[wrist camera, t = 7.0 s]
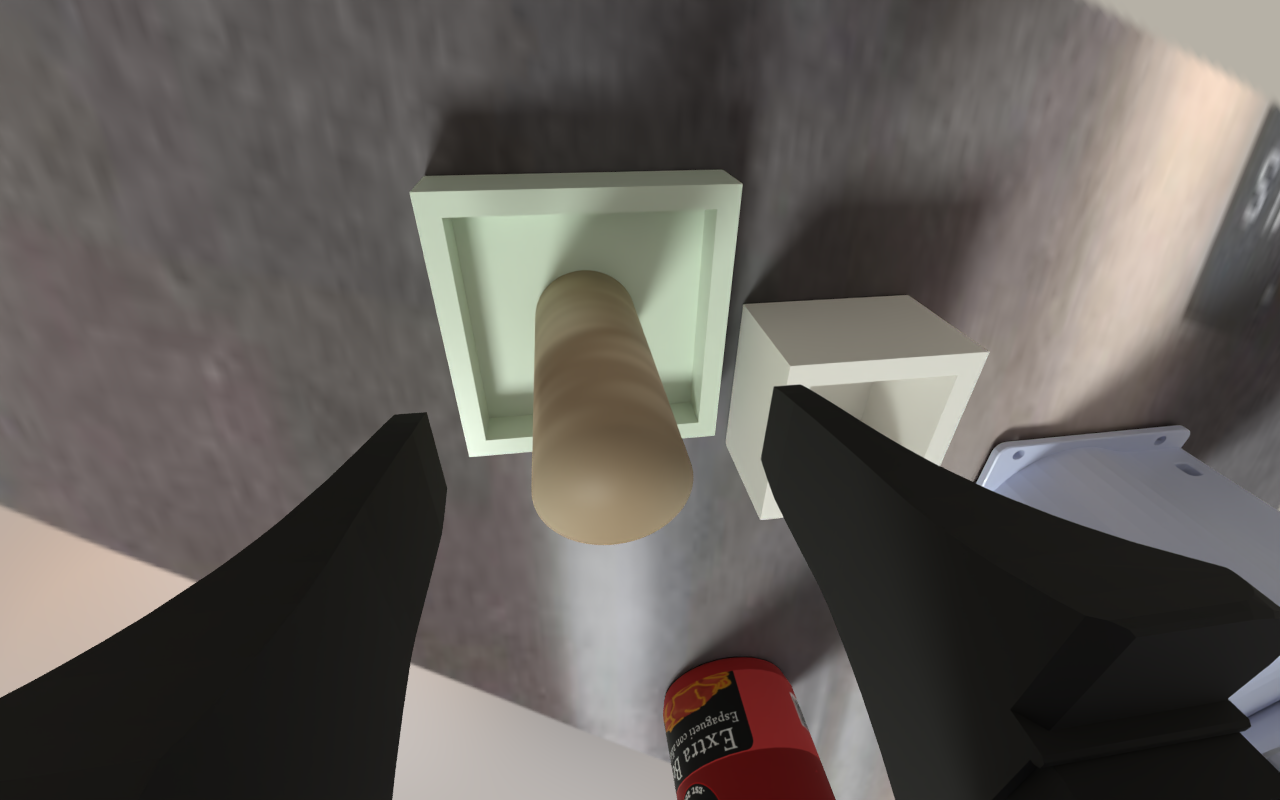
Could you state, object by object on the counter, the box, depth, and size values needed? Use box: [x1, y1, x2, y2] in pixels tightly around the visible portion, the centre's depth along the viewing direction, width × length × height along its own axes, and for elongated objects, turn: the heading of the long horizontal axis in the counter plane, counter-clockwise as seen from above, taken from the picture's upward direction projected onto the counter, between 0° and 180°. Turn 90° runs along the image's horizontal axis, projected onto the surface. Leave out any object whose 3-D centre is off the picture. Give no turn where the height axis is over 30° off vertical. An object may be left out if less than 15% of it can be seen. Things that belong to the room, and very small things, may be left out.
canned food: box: [663, 657, 836, 800], centre depth 27 cm, size 8×8×11 cm
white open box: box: [726, 295, 989, 520], centre depth 18 cm, size 6×6×4 cm
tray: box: [410, 170, 743, 457], centre depth 16 cm, size 8×8×2 cm
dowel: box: [532, 270, 693, 545], centre depth 13 cm, size 3×3×8 cm
